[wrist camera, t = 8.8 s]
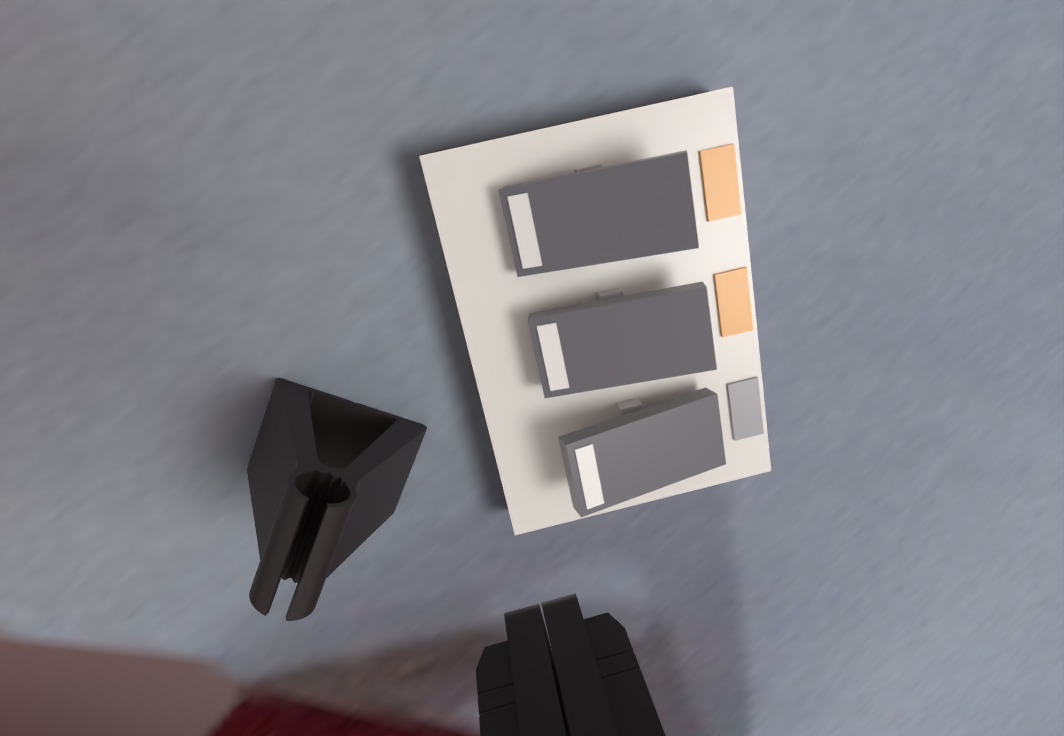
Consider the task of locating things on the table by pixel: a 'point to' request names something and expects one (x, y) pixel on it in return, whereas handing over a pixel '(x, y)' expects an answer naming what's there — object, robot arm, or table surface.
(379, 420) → the phone stand
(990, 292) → the table surface
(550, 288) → the switch unit
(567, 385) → the block
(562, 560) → the table surface
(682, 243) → the rocker
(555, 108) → the table surface
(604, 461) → the block
